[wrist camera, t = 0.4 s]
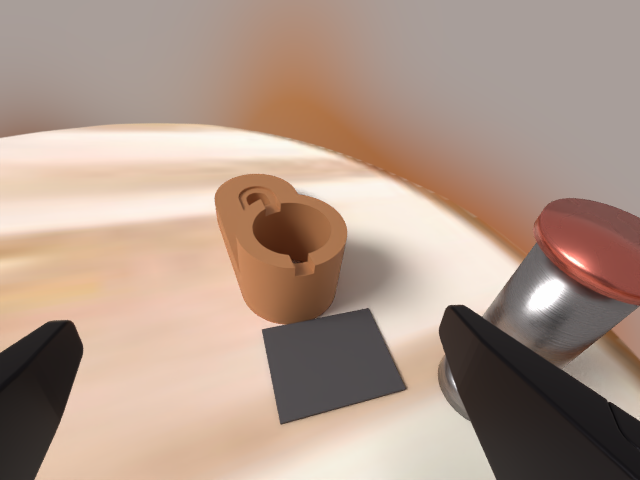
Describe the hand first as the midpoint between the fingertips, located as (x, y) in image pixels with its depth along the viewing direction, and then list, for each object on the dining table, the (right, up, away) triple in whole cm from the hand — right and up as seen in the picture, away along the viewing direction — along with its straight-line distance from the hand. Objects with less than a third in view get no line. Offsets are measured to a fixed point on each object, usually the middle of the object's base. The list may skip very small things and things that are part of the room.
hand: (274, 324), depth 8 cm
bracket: (-4, +1, +25) cm, 26 cm away
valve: (+13, -9, +17) cm, 23 cm away
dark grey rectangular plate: (+2, -7, +17) cm, 19 cm away
